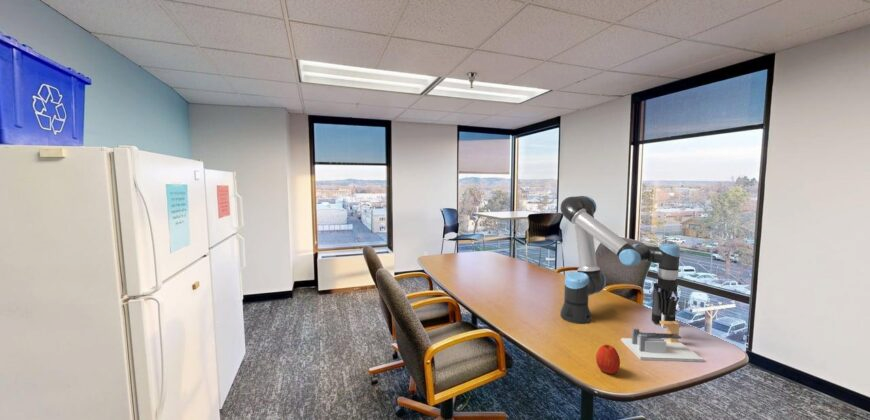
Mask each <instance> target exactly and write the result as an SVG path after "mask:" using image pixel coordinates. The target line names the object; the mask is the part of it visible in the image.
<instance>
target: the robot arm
mask: <svg viewBox="0 0 870 420" xmlns="http://www.w3.org/2000/svg"><path fill="white" fill-rule="evenodd" d="M559 209H560V212H561V215H562V216H563V217H564V218H565V219H567V221H569V222H570V223H571V224H574V228H575V235H576V243H577V252H578V261H579V267H578V268H577V271H575V272H569V273H567V274H566V275H565V277H564V278H565V279H564V294H563V295H564V297H563V298H564V299H563V304H562V306H561V309H560V315H559V316H560V318H562V320H564V321H567V322H569V323H573V324H579V325H580V324H589V323H591V321H592V313H591V311H590V307H589V296H592V295H594V294H598V293H600V292H601V291H603V290H604V289H605V287H606V286H607V285H606V284H607V279H606V276H605V274H603V273H602V271H601V268H600V267H599V266H598V262H597V255H596V248H595V240H594V239H596V240H597V241H598V242H599V243H600V244H602V245H603V246H604V247H606V248H607V249H609V250H610V252H612V253H614V254H615V255H616V256H618V258H619V262H620V263H621V264H622V265H623V266H625V267H626V266H627V267H634V266H635V267H636V266H638V265H640V264H642V263H645V262H647V263H654V264H658V267H657V268H658V269H657V270H658V271H657V276H658V277H657V283H658V285H659V286H660V288H656V292H657V299H658V309H659V310H661V313H662V314H661V315H662V316H661V321H670V315H674V312H675V308H676V309H677V304H678V301H679V300H680V298H679V296H677V297H676V296H675V288H677V289H678V285H679V279H678V278H679V267H680V257H681V255H680V254H681V253H680V252H681V251H680V246H679V245H677V244H673V243H660V244H659V246H653V245H652V246H651V245H646V244H645V245H644V244H641V243H639V244H638V243H634V244H633V243H632V244H630V243H629V242H628V241H627V240H624V238H622V237H621V236H619V235H618V234H616V233H615V232H614V231H612V229H610V228H608V227H607V226H606V225H604V224H603V223H601V222H600V221H599V220H597V219H596V218H595V213H596V212H597V204H596V202H595V200H594V199H593V198H592V197H590V196H586V195H577V196H568V197H566V198H564V199H563V200H562V201H561V203H560V208H559ZM660 327H661V328H662V329H667V326H663V325H662V324H661V325H660Z"/></svg>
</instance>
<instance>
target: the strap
mask: <svg viewBox="0 0 870 420" xmlns="http://www.w3.org/2000/svg"><path fill="white" fill-rule="evenodd" d="M635 333H636V334H637V335H638V336H639V337H640V335H647V338H661V339H667V338H672V339H678V340H679V339H682V336H681V335H678V334H667V332H666V333H665V332H663V333H660V332H657V333H656V332H655V333H638V332H635Z"/></svg>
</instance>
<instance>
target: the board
mask: <svg viewBox="0 0 870 420" xmlns="http://www.w3.org/2000/svg"><path fill="white" fill-rule="evenodd" d="M631 330H632V335H631V337H630V338H629V337H627V338H626V337H622V338H621V339H620V341H621V342H622V343H623V344H624V345H625V346H626V348H628V349H629V350H630V351H631V352H632V353H633V354H634V355H635V356H636V357H637V358H638V359H639V360H640V361H641V360H642V361H663V362H665V361H666V362H689V363H690V362H691V363H693V362H694V363H703V362H704V358H702V357H701V356H700V355H698V353H696V352H694V351H693V350H691V349H690V348H689V347H687V346H686V345H685V344H683V343H682V342H680V341H679V340H678V342H670V341H669V340H668V339H667V338H647V335H640V337H639V336H638V335H637V334H636V333H635V332H638V333H656V332H654V331H653V332H652V331H640V328H637V327H636V328H632V329H631Z"/></svg>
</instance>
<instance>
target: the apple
mask: <svg viewBox="0 0 870 420" xmlns="http://www.w3.org/2000/svg"><path fill="white" fill-rule="evenodd" d="M595 362H596V364H597V367H598V369H599V370H600V371H602V372H604V373H606V374H610V375H613V374H615V373H617V372H618V371H619V369H620V365H621V359H620V355H619V353H618V351H617V349H616V348H615V347H614V346H613V345H610V344H603V345H601V346H600V347H599V348H598V350H597V352H596V353H595Z"/></svg>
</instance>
